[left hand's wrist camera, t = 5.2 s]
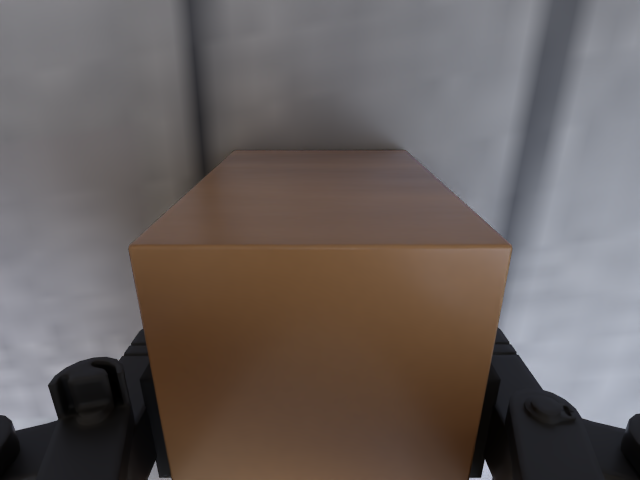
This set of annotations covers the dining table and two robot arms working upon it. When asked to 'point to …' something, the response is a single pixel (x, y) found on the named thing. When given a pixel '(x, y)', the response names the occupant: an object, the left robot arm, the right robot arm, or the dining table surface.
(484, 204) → the dining table surface
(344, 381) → the bar
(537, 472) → the left robot arm
